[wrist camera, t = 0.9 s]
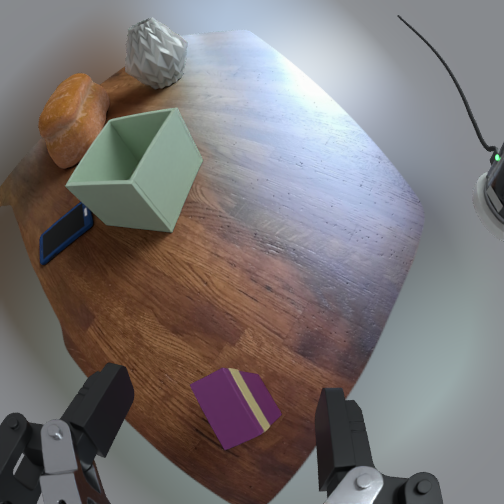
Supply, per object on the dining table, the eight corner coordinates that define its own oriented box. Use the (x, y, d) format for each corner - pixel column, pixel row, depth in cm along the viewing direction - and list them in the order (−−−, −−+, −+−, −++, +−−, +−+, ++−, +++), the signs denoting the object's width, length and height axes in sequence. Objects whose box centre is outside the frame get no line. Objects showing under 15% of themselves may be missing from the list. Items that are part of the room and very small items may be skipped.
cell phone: (94, 225, 42) (91, 223, 41) (42, 267, 41) (39, 265, 41) (90, 198, 46) (87, 195, 45) (41, 238, 45) (39, 236, 44)
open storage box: (139, 162, 47) (109, 119, 37) (203, 159, 43) (177, 107, 33) (106, 225, 41) (64, 186, 32) (172, 232, 38) (131, 184, 28)
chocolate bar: (236, 385, 27) (188, 384, 17) (258, 373, 28) (223, 366, 17) (259, 426, 25) (224, 451, 14) (282, 414, 25) (261, 434, 15)
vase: (128, 103, 60) (95, 48, 43) (158, 70, 66) (133, 20, 50) (181, 94, 55) (149, 27, 39) (208, 61, 61) (186, 3, 45)
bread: (59, 177, 53) (20, 135, 39) (77, 119, 65) (52, 84, 52) (103, 150, 52) (66, 100, 39) (115, 97, 65) (90, 57, 51)
